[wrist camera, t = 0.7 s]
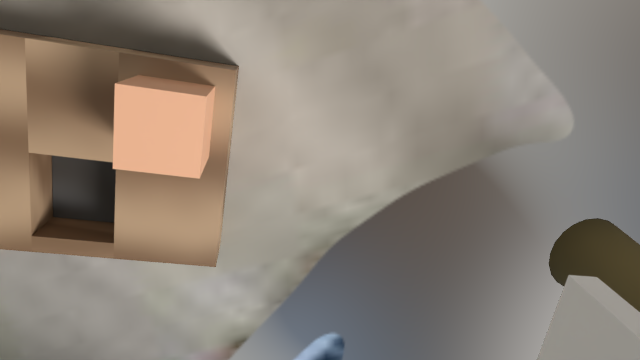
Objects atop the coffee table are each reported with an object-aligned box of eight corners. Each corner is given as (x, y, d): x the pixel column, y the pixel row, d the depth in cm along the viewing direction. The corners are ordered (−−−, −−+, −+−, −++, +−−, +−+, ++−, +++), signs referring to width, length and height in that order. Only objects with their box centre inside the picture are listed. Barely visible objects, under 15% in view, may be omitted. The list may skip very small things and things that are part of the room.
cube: (209, 156, 26) (199, 178, 22) (135, 147, 25) (112, 168, 21) (215, 86, 24) (206, 96, 21) (138, 74, 24) (114, 83, 20)
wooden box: (220, 244, 31) (210, 293, 25) (-161, 210, 27) (-273, 258, 21) (238, 66, 27) (232, 75, 21) (-196, -2, 23) (-342, -12, 18)
